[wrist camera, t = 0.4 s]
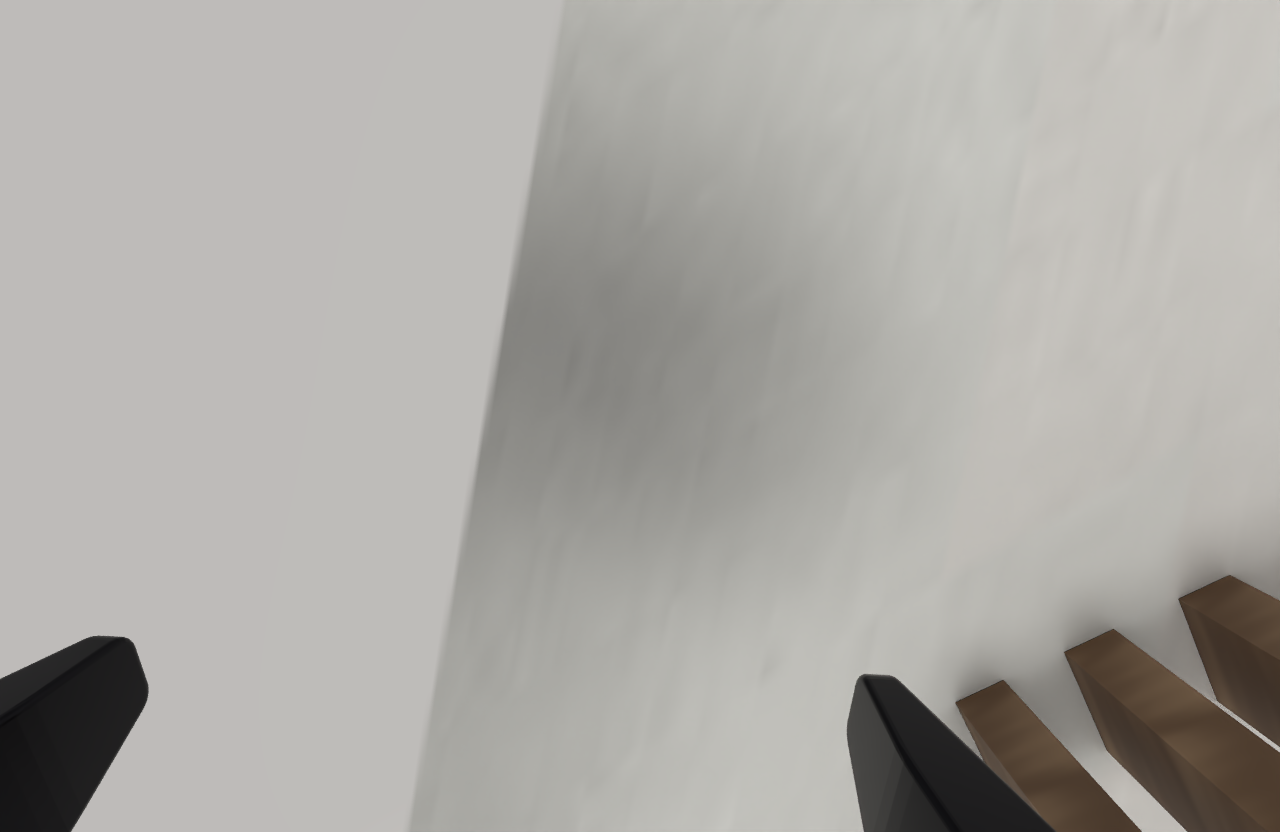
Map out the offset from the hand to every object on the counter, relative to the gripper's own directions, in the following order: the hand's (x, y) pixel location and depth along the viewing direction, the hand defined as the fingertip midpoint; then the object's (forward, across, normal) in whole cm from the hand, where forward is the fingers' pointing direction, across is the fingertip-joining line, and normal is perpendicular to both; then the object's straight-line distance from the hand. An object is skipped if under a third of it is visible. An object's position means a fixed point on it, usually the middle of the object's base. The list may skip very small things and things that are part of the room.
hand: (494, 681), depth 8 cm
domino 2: (+14, -20, +13) cm, 27 cm away
